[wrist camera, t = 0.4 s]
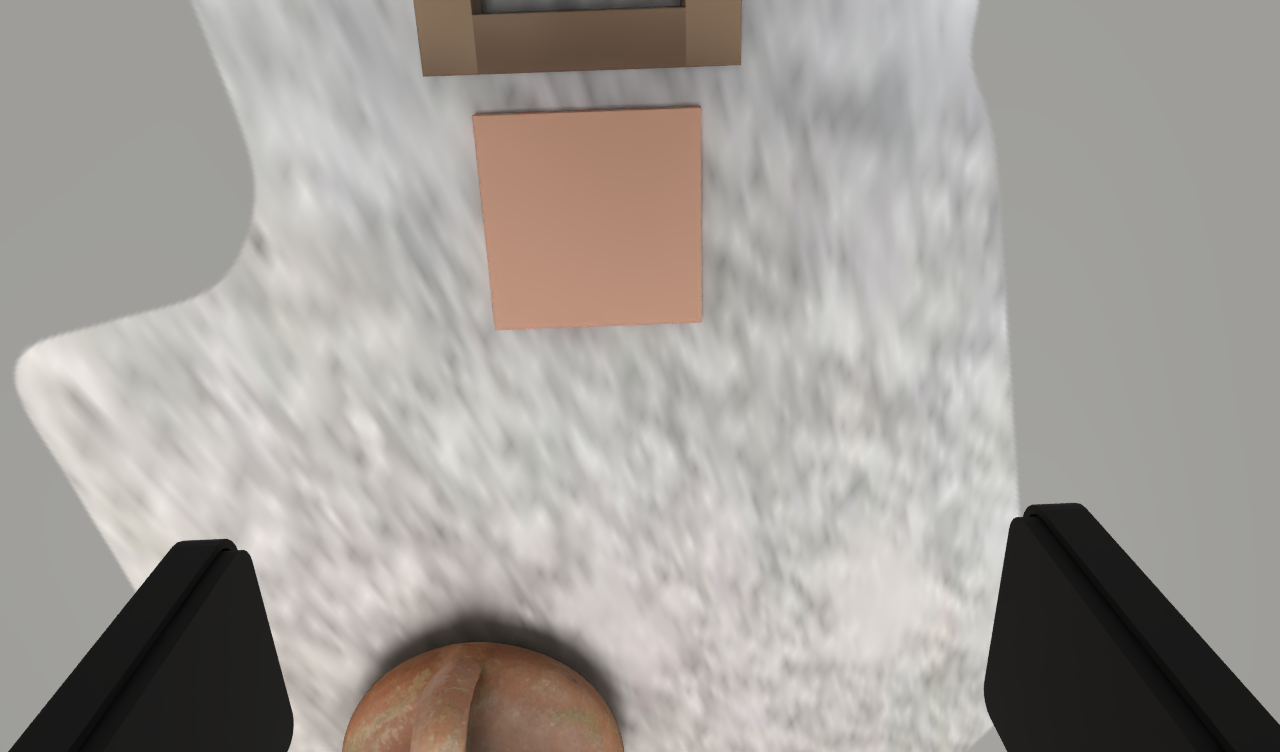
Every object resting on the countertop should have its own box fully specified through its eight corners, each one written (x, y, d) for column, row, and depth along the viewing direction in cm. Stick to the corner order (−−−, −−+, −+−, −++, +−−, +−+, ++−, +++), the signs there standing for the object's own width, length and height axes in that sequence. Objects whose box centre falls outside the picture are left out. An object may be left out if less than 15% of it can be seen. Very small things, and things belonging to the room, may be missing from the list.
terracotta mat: (474, 113, 35) (472, 116, 34) (699, 105, 35) (701, 107, 34) (497, 325, 38) (495, 330, 38) (700, 317, 38) (701, 322, 38)
